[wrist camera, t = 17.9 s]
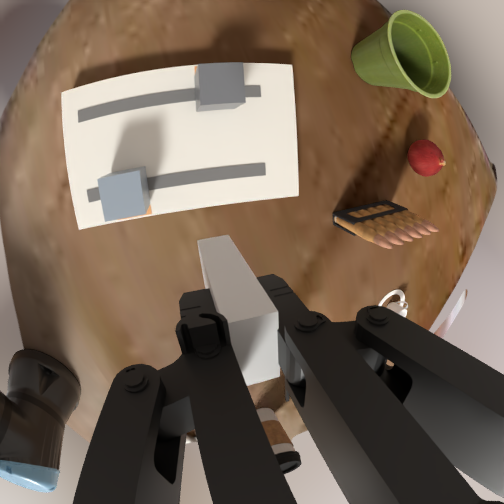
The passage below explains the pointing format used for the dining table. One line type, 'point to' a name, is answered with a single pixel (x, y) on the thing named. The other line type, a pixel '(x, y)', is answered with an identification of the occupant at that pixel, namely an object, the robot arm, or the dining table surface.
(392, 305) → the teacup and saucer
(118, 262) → the dining table surface
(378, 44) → the plant pot
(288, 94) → the switch panel
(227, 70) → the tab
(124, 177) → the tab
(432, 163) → the onion
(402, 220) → the ammunition clip
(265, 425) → the coffee cup
